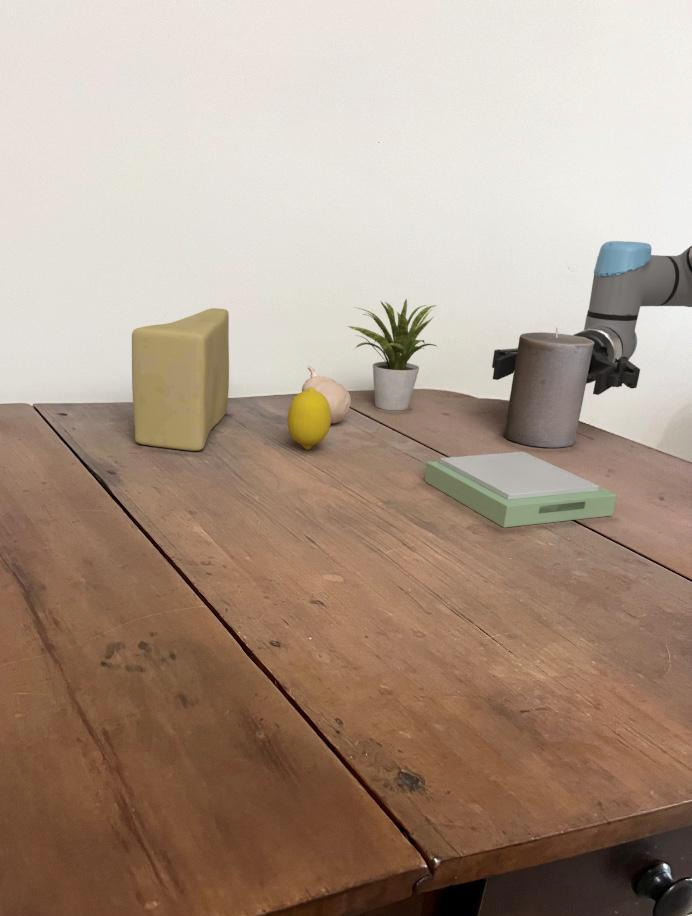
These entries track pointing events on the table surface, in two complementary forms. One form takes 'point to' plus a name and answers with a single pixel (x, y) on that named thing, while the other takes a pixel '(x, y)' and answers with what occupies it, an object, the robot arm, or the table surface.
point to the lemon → (309, 418)
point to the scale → (518, 489)
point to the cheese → (180, 380)
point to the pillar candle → (548, 389)
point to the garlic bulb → (330, 394)
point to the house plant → (396, 357)
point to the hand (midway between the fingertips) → (545, 376)
